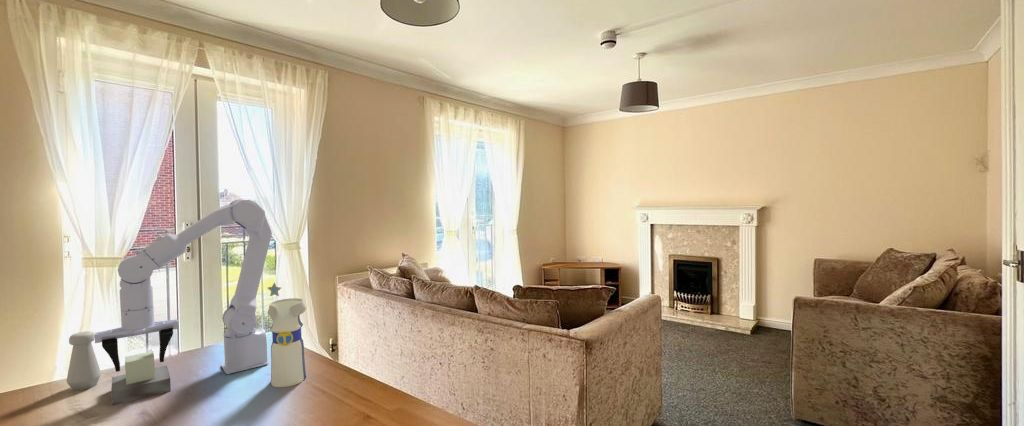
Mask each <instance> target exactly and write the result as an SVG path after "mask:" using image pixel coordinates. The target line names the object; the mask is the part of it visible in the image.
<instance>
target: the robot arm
mask: <svg viewBox="0 0 1024 426" xmlns="http://www.w3.org/2000/svg"><path fill="white" fill-rule="evenodd" d="M234 224H237V225H238V226H240V227H241V228H242V230H243V231H244V232H245V233H246V234H247V235H248V240H247V246H246V249H245V252H244V256H243V262H242V264H241V268H240V273H239V276H238V280H237V283H236V288H235V291H234V295H232V298H231V299H230V303H229V306H228V307H227V309H225V310H224V311H223V314H222V322H223V324H224V326H226V330H225V331H224V332H223V350H224V351H223V352H224V353H223V354H224V362H222V363H221V364H220V365H221V368H222V370H223V371H224V374H225V375H229V374H234V373H238V372H242V371H246V370H250V369H255V368H257V367H262V366H267V365H268V364H269V362H268V343H267V342H268V341H267V334H266V331H265V329H264V328H260V329H257V328H256V326H257V323H258V319H257V315H256V310H257V300H256V299H257V294H258V291H259V287H260V282H261V279H262V274H263V271H264V267H265V263H266V258H267V256H268V255H267V254H268V250H269V248H270V243H271V239H272V229H271V227H270V224H269V221H268V219H267V216H266V211H265V210H264V208H262V207H261V206H260V205H259V204H258V203H257V202H256V201H254V200H251V199H234V200H233V201H231V202H230V203H229V204H225V205H223V206H220V207H219V208H216V209H215V210H213V211H211V212H210V213H208V214H206V215H205V216H204V217H202V218H200V219H198V221H195V223H193V224H191V225H190V226H189V227H187V228H185V229H184V230H182V231H180V232H179V233H178V234H172V233H166V234H164V235H163V236H162V235H161V234H160V235H158V236H156V237H155V238H154V239H155V241H152V243H150V244H148V245H146V246H145V247H143V248H142V249H136V250H134V251H133V253H134V255H129V256H127V257H125V258H124V259H122V260H121V261H120V262H119V264H118V268H117V272H118V273H117V274H118V276H119V277H120V281H119V287H120V289H119V305H120V308H119V309H120V322H121V323H120V324H121V326H120V327H117V328H112V329H111V328H110V329H107V330H104V331H98V332H94V335H95V339H94V343H95V344H98V343H99V344H100V343H101V346H102V348H103V350H105V352H106V353H107V355H108V356H109V358H110V359H111V361H112V363H113V365H114V369H115V372H116V373H118V372H121V363H120V357H119V349H118V348H119V346H118V343H119V342H118V339H124V338H130V337H135V336H140V335H146V334H151V333H156V332H158V338H159V339H158V340H159V355H158V356H159V357H158V358H159V363H164V361H165V356H166V351H167V350H168V349H167V348H168V345H169V344H170V342H171V339H172V338H173V335H174V330H179V328H180V327H179V320H178V319H177V318H176V319H169V320H161V321H155V313H154V312H155V310H154V295H153V294H154V292H153V285H151V283H152V282H151V277H152V275H153V272H154V270H160V269H161V268H163V267H165V266H166V265H168V264H169V263H171V262H172V261H174V260H175V259H177V258H179V257H180V256H182V255H184V253H186V251H187V245H189V244H190V243H192V242H194V241H195V240H197V239H199V238H201V237H202V236H204V235H206V234H208V233H209V232H211V231H212V230H214V229H216V228H217V227H219V226H228V225H229V226H230V225H234Z"/></svg>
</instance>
